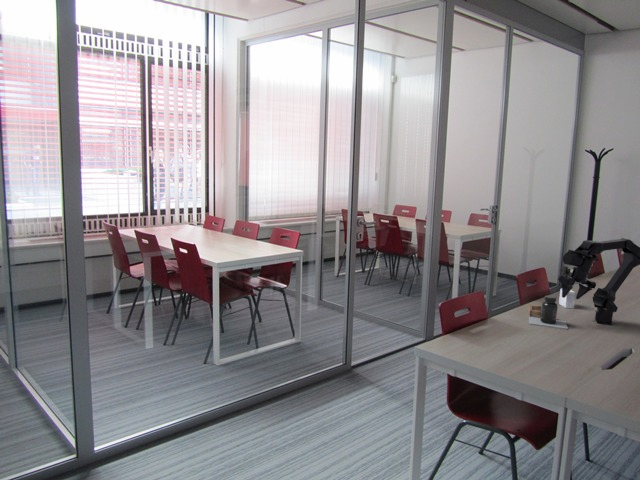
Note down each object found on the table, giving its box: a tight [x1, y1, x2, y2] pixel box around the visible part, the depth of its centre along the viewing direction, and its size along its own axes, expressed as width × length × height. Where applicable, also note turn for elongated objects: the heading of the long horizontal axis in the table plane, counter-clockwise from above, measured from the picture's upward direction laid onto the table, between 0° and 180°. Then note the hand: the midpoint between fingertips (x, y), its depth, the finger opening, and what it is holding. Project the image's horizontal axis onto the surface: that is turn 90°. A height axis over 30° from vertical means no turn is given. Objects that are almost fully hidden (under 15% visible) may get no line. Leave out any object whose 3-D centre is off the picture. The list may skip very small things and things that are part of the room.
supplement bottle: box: [540, 295, 559, 324], centre depth 235 cm, size 7×7×12 cm
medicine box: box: [558, 287, 576, 309], centre depth 264 cm, size 8×4×9 cm, turn 179°
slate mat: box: [528, 316, 569, 330], centre depth 235 cm, size 16×11×1 cm
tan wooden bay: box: [528, 304, 542, 318], centre depth 248 cm, size 10×11×3 cm
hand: (569, 298), depth 238 cm, fingers open, 9 cm apart
